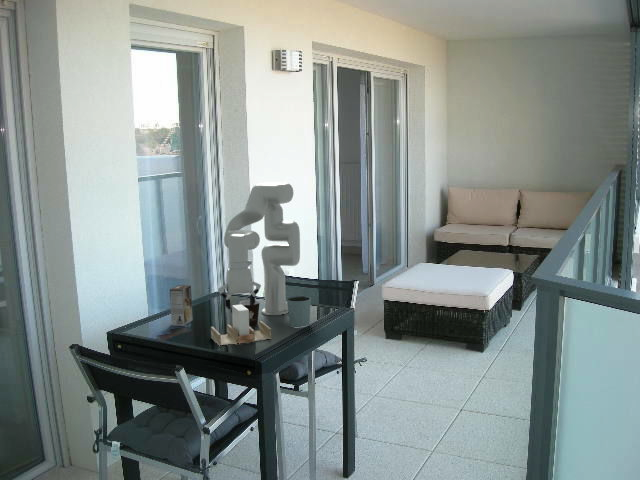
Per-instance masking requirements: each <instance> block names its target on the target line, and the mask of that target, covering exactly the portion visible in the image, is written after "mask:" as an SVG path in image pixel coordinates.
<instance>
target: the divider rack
mask: <svg viewBox="0 0 640 480" xmlns="http://www.w3.org/2000/svg"><path fill="white" fill-rule="evenodd" d="M258 324H259V330H254V329H253V327H250V326H249V335H243V336H238V332H237V331H236V330H234V329H233V326H232V325H231V324H227V325H226V326H227V329H226V331H227V333H226V334H221V333H220V332H219V331H218V330H217V329H216V328H215V327H214V326H210V338H211V339H212V341H214V343H215V344H216V343H217V344H218V345H219V346H218V345H217V346H218V347H221V346H220V345H227V346H229V345H228V344H235V345H241V344H240V343H246V342H253V341H256V340H263V339H270V338H271V339H272V328H271V327H270V326H269V325H267V324H266V323H265V322H264V321H262V320H258ZM237 343H239V344H237ZM253 343H254V342H253ZM246 344H247V343H246Z"/></svg>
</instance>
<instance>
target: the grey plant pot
mask: <svg viewBox="0 0 640 480" xmlns="http://www.w3.org/2000/svg"><path fill="white" fill-rule="evenodd" d="M286 302H287V304H288V310H289V313H288V322H289V327H290V326H293V327H301V326H306V325H309V324H310V325H311V323H310V322H311V317H310V315H311V304H312V303H311V302H312V298H311V297H310V296H307V295H293V296H289V297H288V298H286ZM310 325H309V326H310Z"/></svg>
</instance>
